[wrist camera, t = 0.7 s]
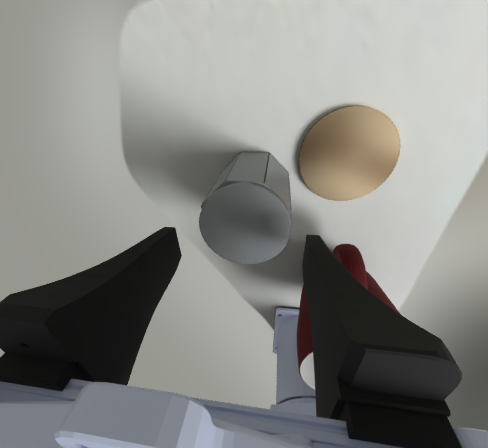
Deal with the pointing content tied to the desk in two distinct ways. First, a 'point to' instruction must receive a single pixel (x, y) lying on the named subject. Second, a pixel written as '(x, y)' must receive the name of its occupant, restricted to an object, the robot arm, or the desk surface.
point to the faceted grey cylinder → (248, 210)
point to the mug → (354, 265)
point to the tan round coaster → (349, 153)
